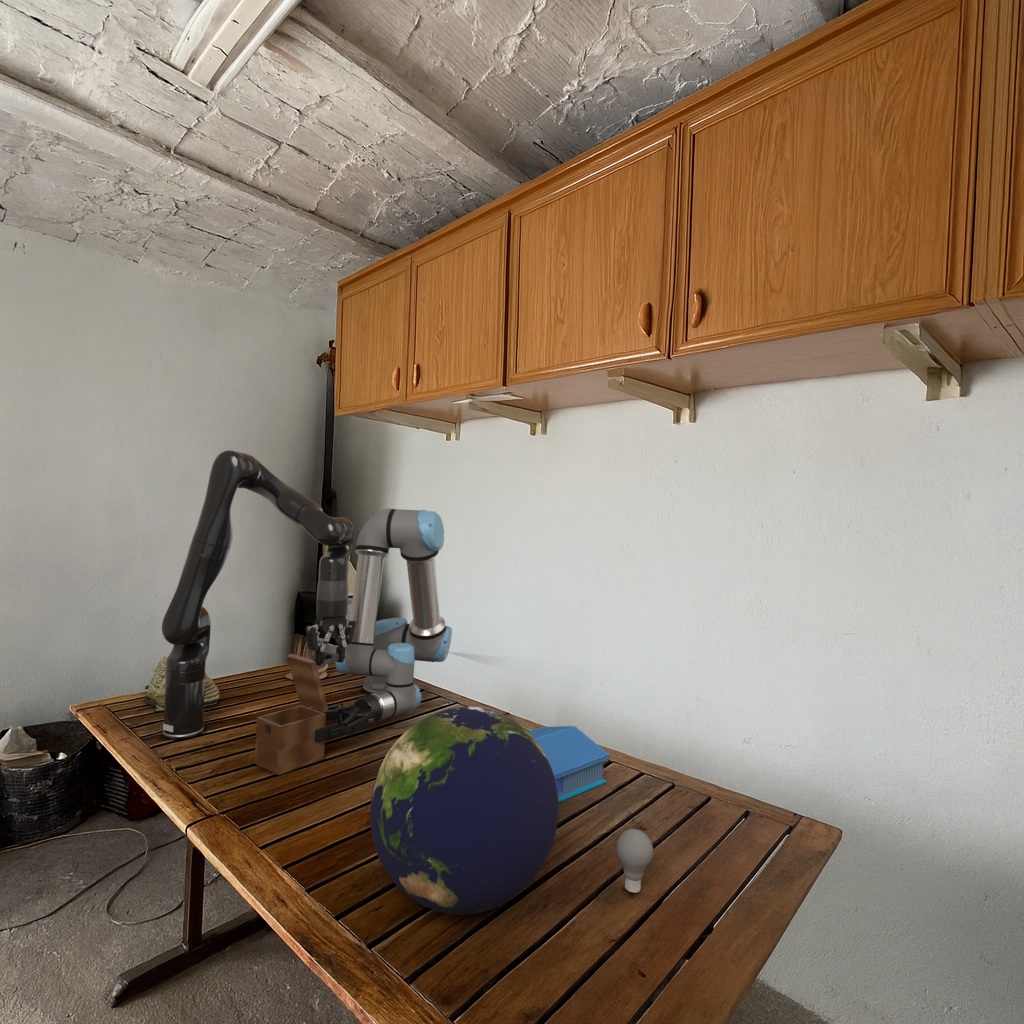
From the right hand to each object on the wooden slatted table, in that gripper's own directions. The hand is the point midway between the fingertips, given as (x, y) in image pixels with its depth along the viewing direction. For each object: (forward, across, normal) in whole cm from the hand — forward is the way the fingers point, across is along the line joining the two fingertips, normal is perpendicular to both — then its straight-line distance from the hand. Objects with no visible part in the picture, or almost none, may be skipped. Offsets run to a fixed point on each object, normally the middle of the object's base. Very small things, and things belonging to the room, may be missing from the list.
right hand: (302, 730), depth 153 cm
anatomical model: (-42, +56, -6) cm, 70 cm away
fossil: (+1, +55, -6) cm, 55 cm away
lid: (0, 0, +11) cm, 11 cm away
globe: (+16, -65, -6) cm, 67 cm away
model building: (-20, -50, -6) cm, 54 cm away
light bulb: (-3, -86, -6) cm, 86 cm away
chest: (+3, 0, -6) cm, 7 cm away
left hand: (-7, 0, +15) cm, 17 cm away
